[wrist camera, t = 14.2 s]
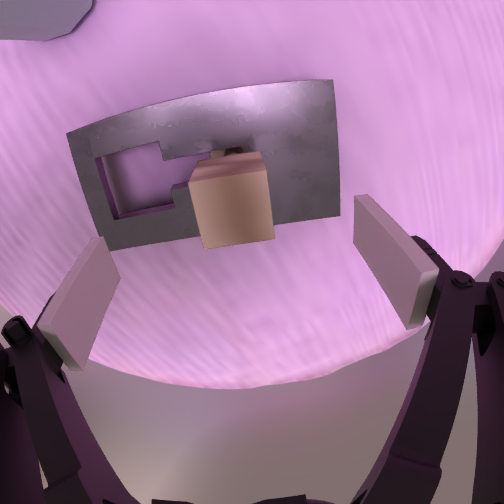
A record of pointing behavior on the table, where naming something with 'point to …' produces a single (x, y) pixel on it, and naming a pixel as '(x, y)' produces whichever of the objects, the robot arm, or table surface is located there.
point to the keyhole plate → (217, 138)
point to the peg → (231, 198)
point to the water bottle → (40, 18)
